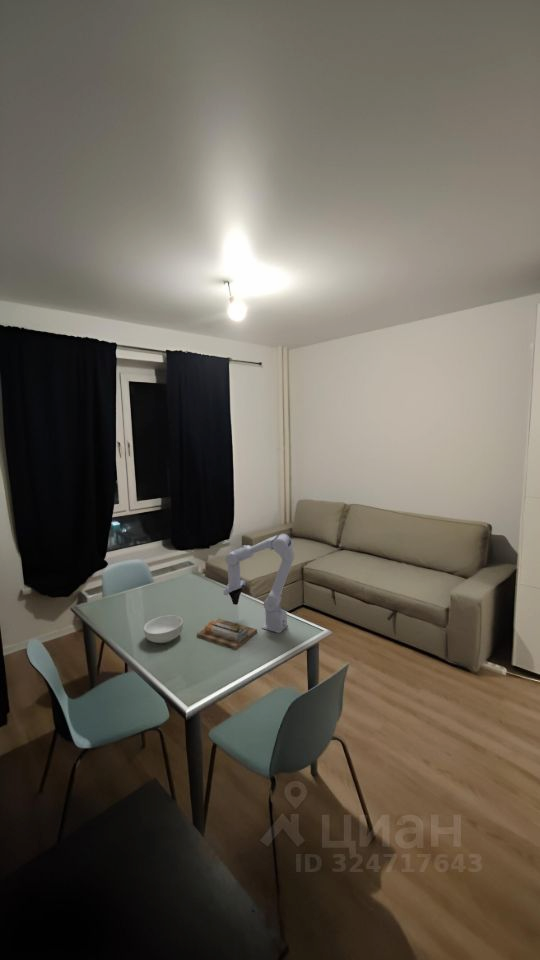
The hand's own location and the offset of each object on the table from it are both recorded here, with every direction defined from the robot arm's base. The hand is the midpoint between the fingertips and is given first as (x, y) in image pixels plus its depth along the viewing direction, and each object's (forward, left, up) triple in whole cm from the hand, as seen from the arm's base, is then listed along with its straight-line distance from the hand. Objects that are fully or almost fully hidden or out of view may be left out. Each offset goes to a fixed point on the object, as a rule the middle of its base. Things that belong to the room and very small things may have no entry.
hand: (235, 603), depth 183 cm
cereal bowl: (+20, +27, -10) cm, 35 cm away
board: (-3, +11, -9) cm, 15 cm away
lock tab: (-9, +12, -4) cm, 16 cm away
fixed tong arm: (-4, +13, -8) cm, 16 cm away
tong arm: (-3, +12, -8) cm, 15 cm away
